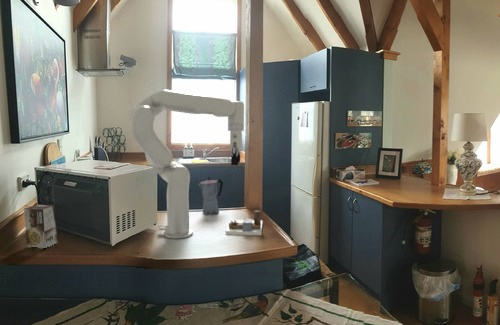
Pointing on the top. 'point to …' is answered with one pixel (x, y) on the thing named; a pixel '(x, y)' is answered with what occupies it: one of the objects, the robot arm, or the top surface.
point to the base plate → (239, 231)
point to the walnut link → (254, 225)
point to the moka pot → (210, 195)
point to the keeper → (245, 224)
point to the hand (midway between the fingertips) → (235, 163)
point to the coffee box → (40, 226)
